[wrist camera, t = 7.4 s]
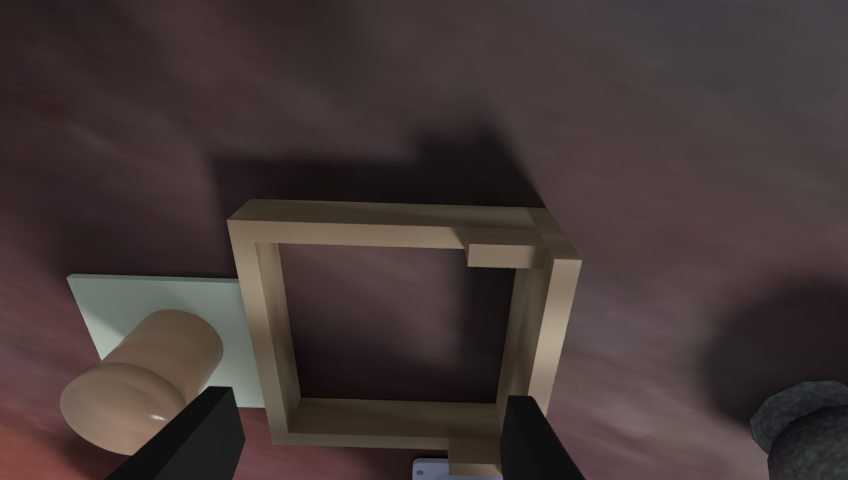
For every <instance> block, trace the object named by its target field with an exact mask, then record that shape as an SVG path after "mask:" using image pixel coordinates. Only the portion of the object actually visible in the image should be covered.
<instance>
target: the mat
mask: <svg viewBox="0 0 848 480" xmlns="http://www.w3.org/2000/svg"><path fill="white" fill-rule="evenodd" d="M66 279H67V281H68V283H69V285H70V288H71V290H72V292H73V295H74V297H75V299H76V302H77V304H78V306H79V309H80V311H81V313H82V316H83V318H84V320H85V323H86V325H87V327H88V330H89V332H90V334H91V337H92V339H93V341H94V344H95V346H96V348H97V351H98V353H99V355H100V358H101V360H103V359H104V358H105V357H106V356H107V355H108V354H109V353H110V352H111V351H112V350H113V349H114V348H115V347H116V346H117V345H118V344H119V343H120V342H121V341H122V340H123V339H124V338H125V337H126V336H127V335H128V334H129V333H130V332H131V331H132V330H133V329H134V328H135V327H136V326H137V325H138V324H139V323H140V322H141V321H142V320H143V319H144V318H146V317H147V316H148V315H149V314H151V313H153V312H156V311H160V310H166V309H173V310H181V311H185V312H188V313H191V314H194V315H196V316H198V317H200V318H201V319H203V320H205V321H206V322H207V323H209V324H210V325H211V326H212V327H213V328H214V329H215V330H216V332H217V333H218V335H219V336H220V338H221V340H222V343H223V348H224V353H223V357H222V360H221V361H220V363H219V364H218V366H217V368H216V369H215V371H214V372H213V374H212V375H211V377H210V378H209V380H208V382H207V383H206V385H205V386H204V388H203V389H202V391H201V392H200V393H202V392H203V391H204V390H205V389H206V388H207V387H208V386H228V387H232V388H233V392H234V396H235V400H236V404H237V407H260V408H265V404H264V399H263V394H262V389H261V385H260V380H259V375H258V370H257V365H256V360H255V355H254V351H253V346H252V341H251V336H250V331H249V326H248V321H247V317H246V312H245V307H244V302H243V297H242V292H241V288H240V283H239V279H225V278H193V277H161V276H129V275H97V274H71V275H70V276H68V277H67V278H66Z"/></svg>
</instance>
